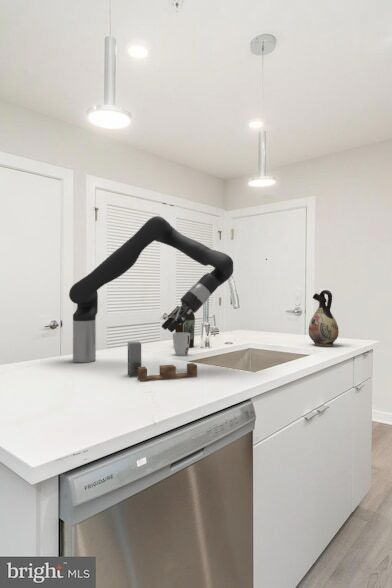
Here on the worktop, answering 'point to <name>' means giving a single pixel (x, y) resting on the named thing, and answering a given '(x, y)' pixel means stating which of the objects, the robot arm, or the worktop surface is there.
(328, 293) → the ceramic jug
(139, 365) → the gray rectangular block
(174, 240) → the robot arm
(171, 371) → the brown notched bar
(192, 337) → the olive oil
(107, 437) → the worktop surface
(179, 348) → the cup
